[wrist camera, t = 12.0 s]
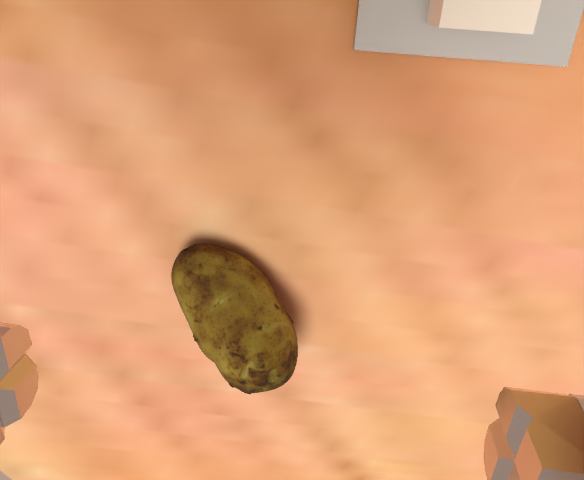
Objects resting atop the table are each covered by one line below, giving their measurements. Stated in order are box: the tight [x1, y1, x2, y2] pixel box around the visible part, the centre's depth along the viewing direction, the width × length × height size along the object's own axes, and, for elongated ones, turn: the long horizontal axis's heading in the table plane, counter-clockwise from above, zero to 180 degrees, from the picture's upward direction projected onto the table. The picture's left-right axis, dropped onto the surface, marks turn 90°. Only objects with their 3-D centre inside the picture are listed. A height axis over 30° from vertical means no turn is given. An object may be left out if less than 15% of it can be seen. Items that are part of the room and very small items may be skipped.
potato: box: [171, 244, 298, 394], centre depth 41 cm, size 8×13×8 cm, turn 22°
